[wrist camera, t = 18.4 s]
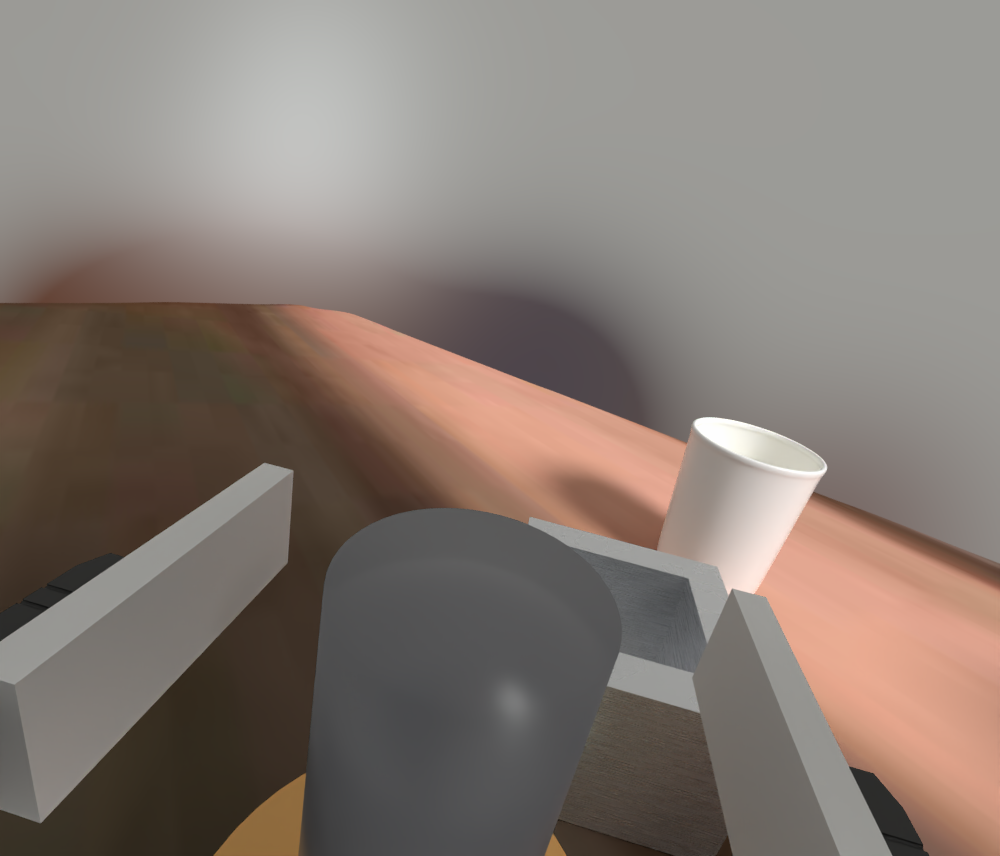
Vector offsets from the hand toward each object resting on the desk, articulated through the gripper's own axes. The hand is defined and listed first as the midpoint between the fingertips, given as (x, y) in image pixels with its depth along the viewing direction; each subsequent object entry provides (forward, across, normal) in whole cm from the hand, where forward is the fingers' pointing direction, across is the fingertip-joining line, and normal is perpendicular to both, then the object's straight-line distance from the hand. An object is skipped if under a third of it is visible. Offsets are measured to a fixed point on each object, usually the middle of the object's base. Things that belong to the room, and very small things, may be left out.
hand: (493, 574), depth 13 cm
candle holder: (+30, +16, -16) cm, 37 cm away
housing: (+11, +6, -16) cm, 20 cm away
